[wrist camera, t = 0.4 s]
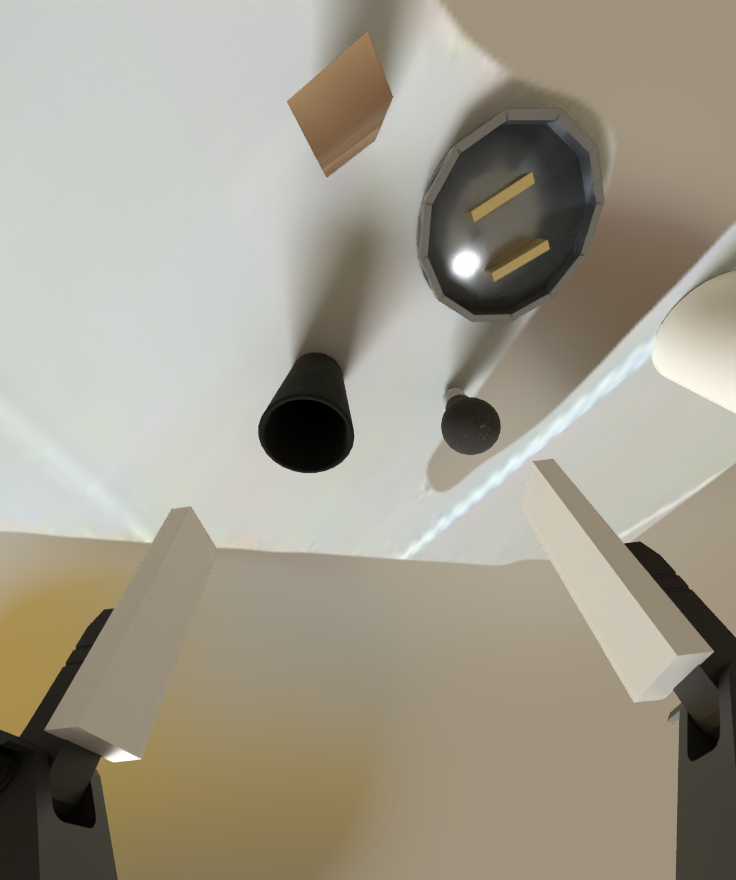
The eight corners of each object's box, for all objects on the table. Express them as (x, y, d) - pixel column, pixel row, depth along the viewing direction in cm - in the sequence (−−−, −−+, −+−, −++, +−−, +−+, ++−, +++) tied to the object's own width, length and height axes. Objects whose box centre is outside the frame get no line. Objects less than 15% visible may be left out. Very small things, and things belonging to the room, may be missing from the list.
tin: (386, 192, 28) (390, 190, 26) (567, 61, 24) (589, 47, 22) (453, 343, 35) (460, 352, 33) (598, 262, 32) (617, 266, 30)
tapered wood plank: (309, 143, 26) (286, 101, 16) (358, 103, 25) (367, 31, 15) (326, 177, 27) (316, 158, 17) (374, 140, 26) (392, 96, 16)
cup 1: (343, 335, 34) (342, 386, 24) (358, 400, 39) (362, 465, 29) (271, 350, 35) (242, 406, 25) (294, 412, 39) (276, 480, 29)
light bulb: (428, 373, 37) (452, 419, 29) (478, 369, 37) (516, 414, 29) (426, 416, 40) (447, 468, 32) (472, 413, 41) (504, 464, 32)
